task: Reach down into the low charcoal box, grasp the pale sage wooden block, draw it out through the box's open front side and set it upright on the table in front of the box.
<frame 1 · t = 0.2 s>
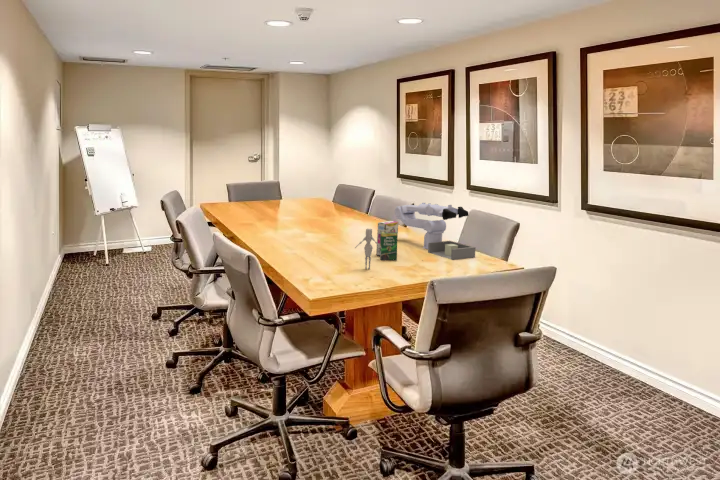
hand: (461, 214, 272), 21 cm above the table, tool horizontal, fingers open, 7 cm apart
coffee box: (388, 260, 265), on the table
open box: (451, 256, 278), on the table
human figurine: (367, 269, 245), on the table
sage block: (451, 254, 277), point 1 cm above the table, touching open box
candy bar box: (386, 255, 276), on the table
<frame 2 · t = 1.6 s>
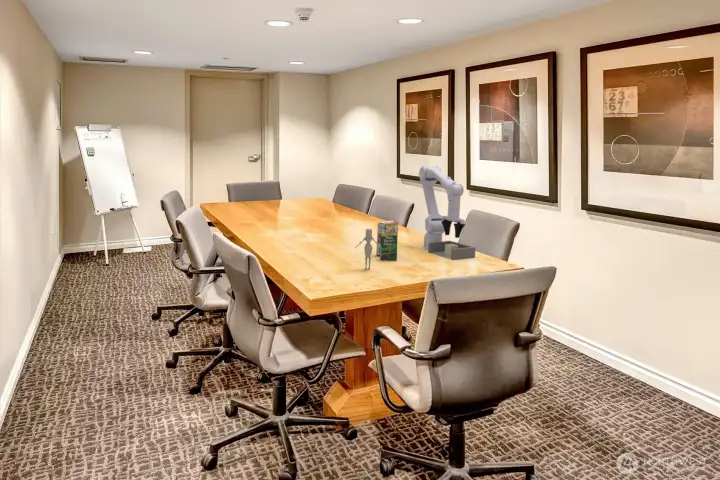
hand: (452, 236, 276), 10 cm above the table, tool pointing down, fingers open, 7 cm apart
nothing on the table moved.
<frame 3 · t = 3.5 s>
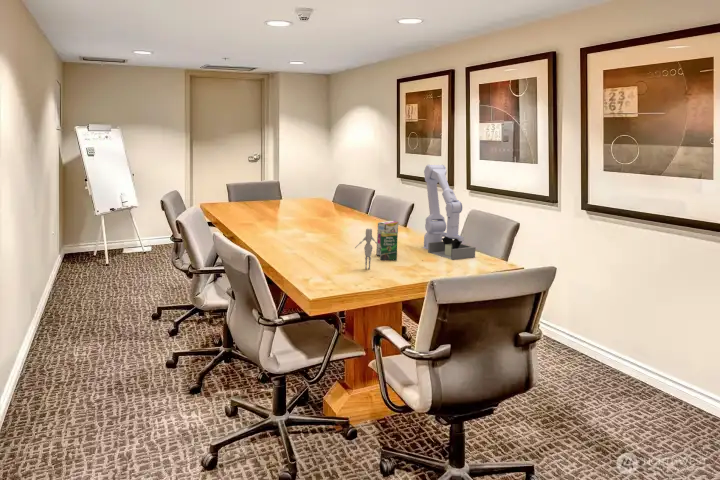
hand: (451, 253, 277), 2 cm above the table, tool pointing down, fingers closed on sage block, 4 cm apart
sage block: (451, 254, 277), point 1 cm above the table, touching gripper, open box
everything else where it was.
when the fingers open (2 cm above the table, at t = 8.4 s): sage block drops 1 cm, on the table.
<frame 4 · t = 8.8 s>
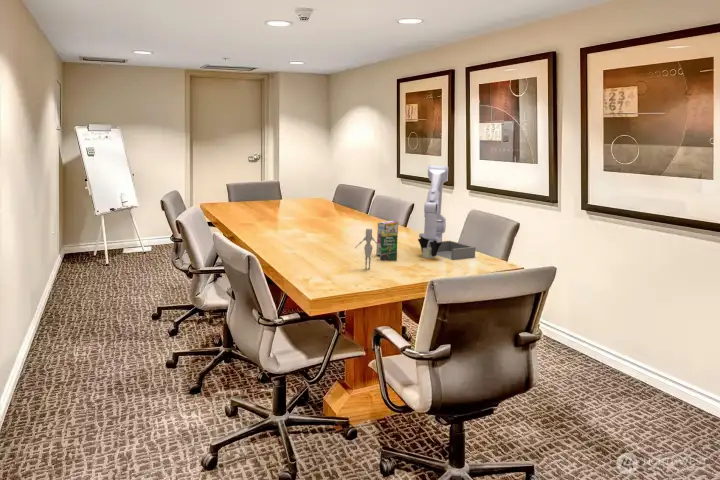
hand: (428, 254, 270), 2 cm above the table, tool pointing down, fingers open, 7 cm apart
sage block: (428, 258, 270), on the table
everything else where it was.
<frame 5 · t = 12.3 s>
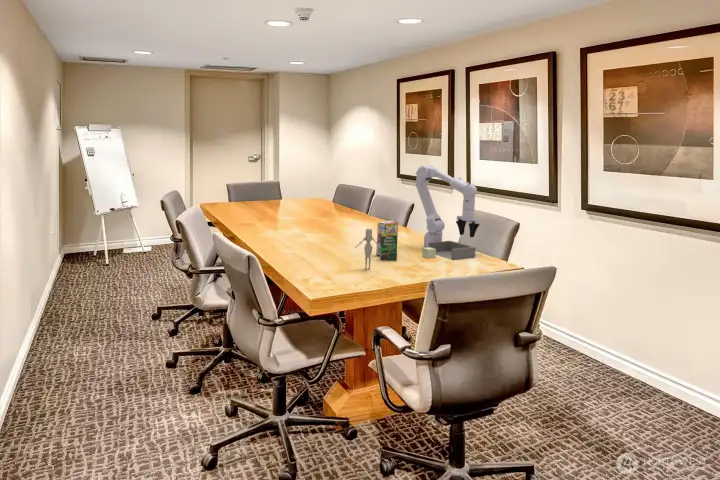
hand: (466, 235, 281), 9 cm above the table, tool pointing down, fingers open, 7 cm apart
nothing on the table moved.
at the end: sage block inside the target area (0.2 cm from its centre), on the table; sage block tilted 0°; the gripper is holding nothing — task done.
